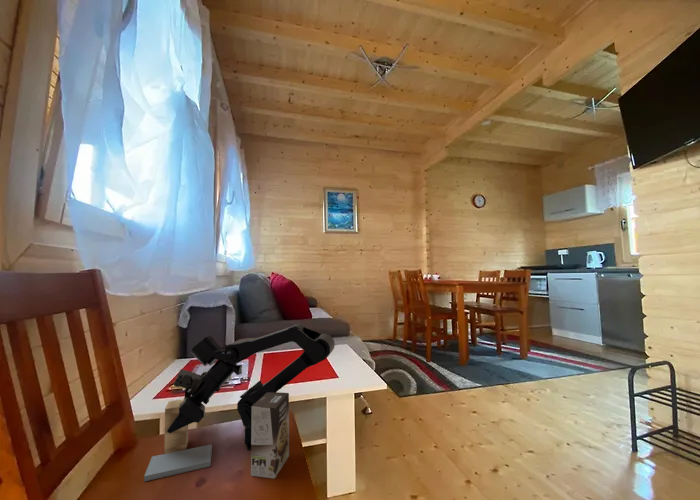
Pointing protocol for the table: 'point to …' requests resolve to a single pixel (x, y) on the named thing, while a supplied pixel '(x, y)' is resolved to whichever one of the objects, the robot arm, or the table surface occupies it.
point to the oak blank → (178, 437)
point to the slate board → (178, 462)
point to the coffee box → (269, 434)
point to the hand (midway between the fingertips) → (171, 424)
